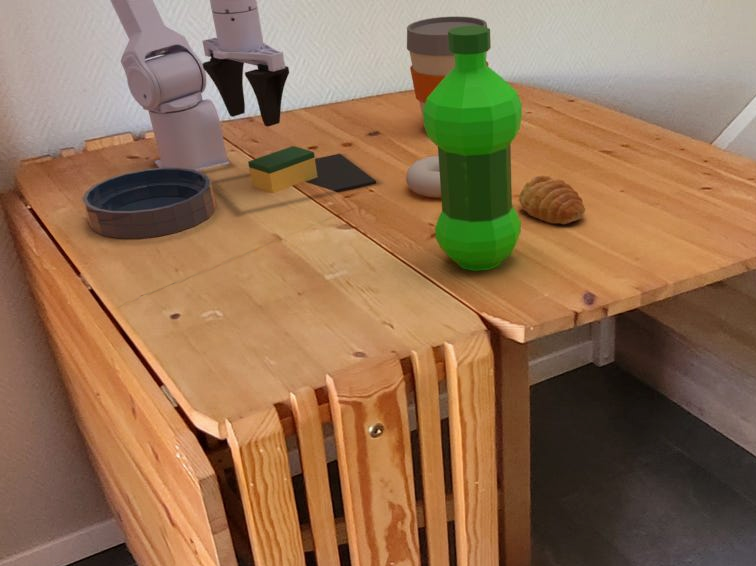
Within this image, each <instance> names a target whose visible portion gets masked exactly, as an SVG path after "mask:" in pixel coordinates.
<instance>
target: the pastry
mask: <svg viewBox="0 0 756 566" xmlns="http://www.w3.org/2000/svg"><path fill="white" fill-rule="evenodd" d="M518 200H519V204H520V205H521V208H522V209H523V211H524V212H526V213H527V214H528V215H529V216H531V217H533V218H535V219H536V218H537V219H539V220H541V222H542V221H544V222H545V223H548V224H551V225H552V224H561V225H566V224H571V222H575V221H578V220H581V219H582V218H583V216H584V214H585V212H586V207H585V205H584V203H583V199H582V198H581V197H580V196H579V193H578V191H576V190H575V189H574V188H573V187H572V185H570V184H569V183H566V182H565V181H564V180H563V179H553V178H552V177H551V176H547V175H538V176H535V177H533V178H532V179H531V180H530V181H528V182H526V184H525V185H524V186H523V187H522V190H521V191H520V194H519V197H518Z"/></svg>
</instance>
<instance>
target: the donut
mask: <svg viewBox="0 0 756 566" xmlns="http://www.w3.org/2000/svg"><path fill="white" fill-rule="evenodd" d="M405 182H406V184H407V186H408V187H409V189H410V191H412V192H414V193H415V194H417V195H420V196H422V197H426V198H427V197H428V198H435V199H436V198H437V199H439V198H440V199H441V185H440V171H439V156H438V155H431V156H426V157H423V158H421V159H419V160H416V161H415V162H412V164H411V165H410V166H408V169H407V171H406V175H405Z"/></svg>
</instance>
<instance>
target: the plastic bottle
mask: <svg viewBox="0 0 756 566" xmlns="http://www.w3.org/2000/svg"><path fill="white" fill-rule="evenodd" d="M448 41H449V51H450V52H452V53H454V54H455V67H454V68H453V69H452V71H451V72H450V73H449V74H448V75H447V76H446V77H445V78H444V79H443V80H442V81H441V82H440V83H439V85H438V86H437V87H436V88H435V89H434V91H433V92H432V93H431V94H430V95H429V96H428V98H427V99H426V103H425V107H424V110H423V116H424V122H423V126H424V125H425V127H424V130H425V129H426V131H425V133H426V135H427V137H428V138H429V139H430V140H431V141H432V143H434V145H436V146H437V153H438V156H439V171H440V185H441V198H440V199H441V212H440V214H439V216H438V217H437V218H438V219H437V220H436V224H435V228H434V229H435V230H434V231H435V232H434V233H435V240H436V242H437V244H438V246H439V248H440V249H441V251H443V253H444V254H446V255H447V256H448V257H449V259H451V260H452V261H453V262H454V263H456V264H457V265H458V266H459V267H461V269H465V270H467V271H468V270H469V271H471V272H479V271H480V272H481V271H489V270H493V269H494V268H497V267H499V266H500V265H501V264H502V262H504V261H505V260H506V259H507V258H509V256H510V255H512V253H513V252H514V249H515V247H516V245H517V243H518V241H519V237H520V235H521V228H522V227H521V219H520V218H519V215H518V213H517V211H516V209H515V207H514V206H513V197H512V196H513V194H512V192H513V191H512V189H513V188H512V156H511V155H512V150H511V148H512V147H511V146H512V145H511V143H513V141H514V139H515V138H516V136H517V135H518V133H519V131H520V129H521V124H522V119H523V118H522V117H523V105H522V101H521V98H520V96H519V93H518V91H517V90H515V88H514V87H512V85H510V83H508V82H507V81H506V80H505V79H504V78H503V77H502V76H501V75H499V74H498V73H497V72H496V71H494V69H492V67H489V65H488V66H487V65H486V61H487V56H486V51H487V52H489V51H490V50H491V48H492V47H491V29H490V28H489V27H488V26H487V27H485V26H460V27H456V28H452V29H450V30H449V31H448Z"/></svg>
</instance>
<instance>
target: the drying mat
mask: <svg viewBox="0 0 756 566" xmlns="http://www.w3.org/2000/svg"><path fill="white" fill-rule="evenodd" d="M315 163H316V170H317V178H314V179H312V180H309V181H306V182H305V183H307V184H310V185H314V186H317V187H320V188H323V189H326V190H329V191H332V192H335V193H340V192H344V191H349V190H353V189H358V188H364V187H367V186H372V185H376V184H377V180H376V179H374V178H373V177H372V176H370V175H369V174H368V173H366V172H365V171H364V170H363V169H361V168H360V167H358V166H357V165H356V164H355V163H353V162H352V161H351V160H350V159H348V158H347V157H346V156H344V155H343V154H341V153H335V154H331V155H326V156H321V157H315Z"/></svg>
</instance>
